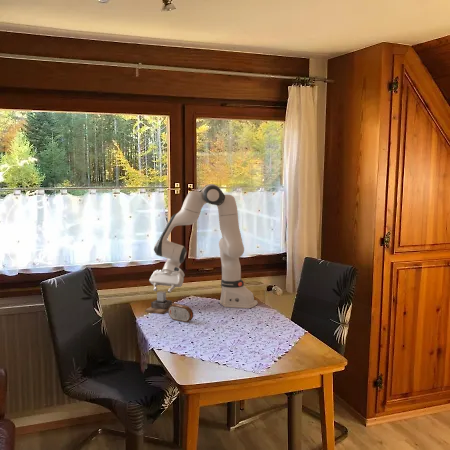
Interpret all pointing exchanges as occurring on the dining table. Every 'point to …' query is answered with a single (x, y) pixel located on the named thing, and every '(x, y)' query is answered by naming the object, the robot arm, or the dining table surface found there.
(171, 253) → the robot arm
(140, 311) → the dining table surface
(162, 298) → the key block
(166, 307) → the socket board
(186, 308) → the tin
